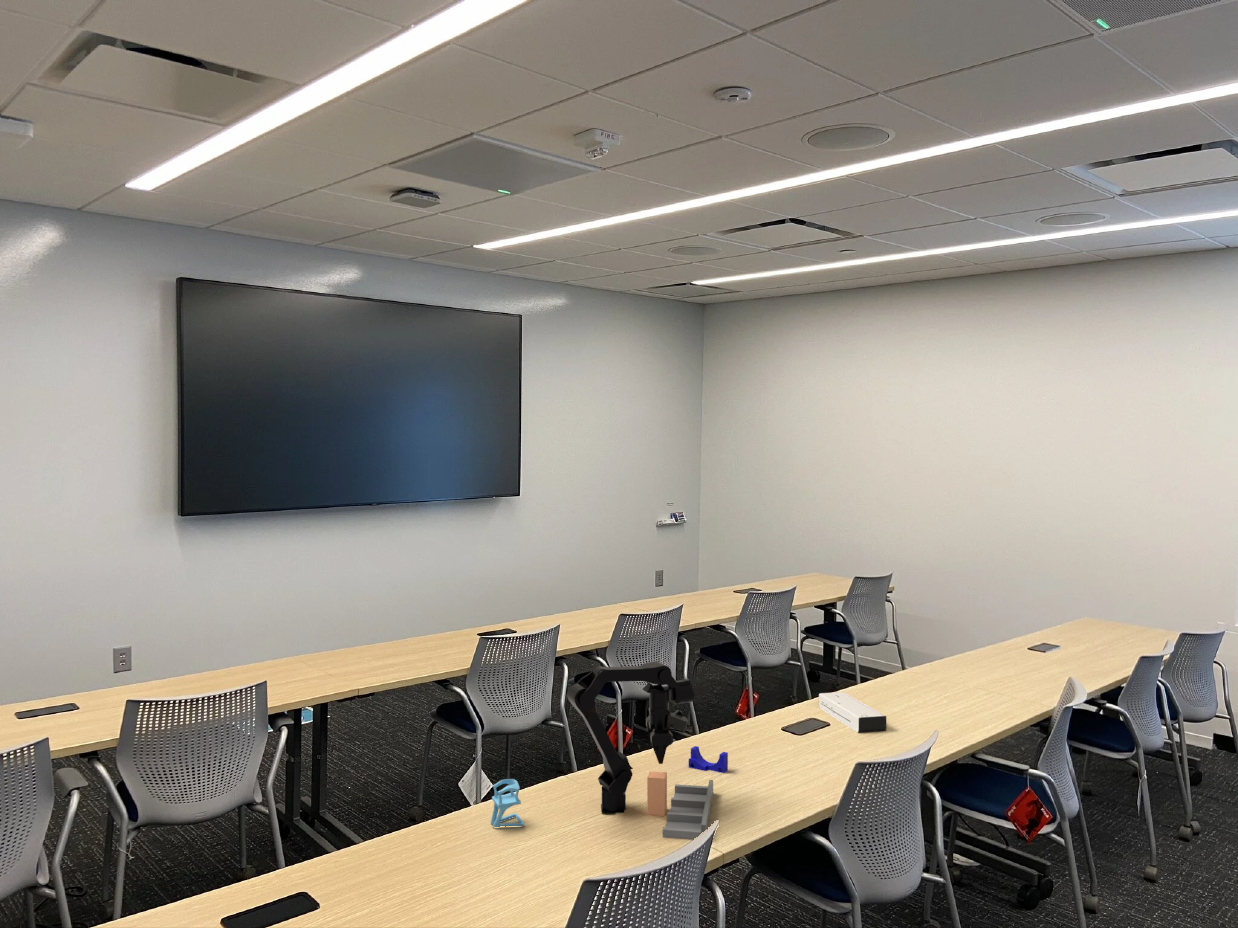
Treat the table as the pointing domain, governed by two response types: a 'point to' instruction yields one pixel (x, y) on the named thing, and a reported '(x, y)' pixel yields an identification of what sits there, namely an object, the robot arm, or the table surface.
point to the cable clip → (702, 764)
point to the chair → (505, 803)
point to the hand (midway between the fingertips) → (659, 758)
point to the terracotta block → (657, 793)
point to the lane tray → (689, 811)
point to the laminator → (852, 712)
